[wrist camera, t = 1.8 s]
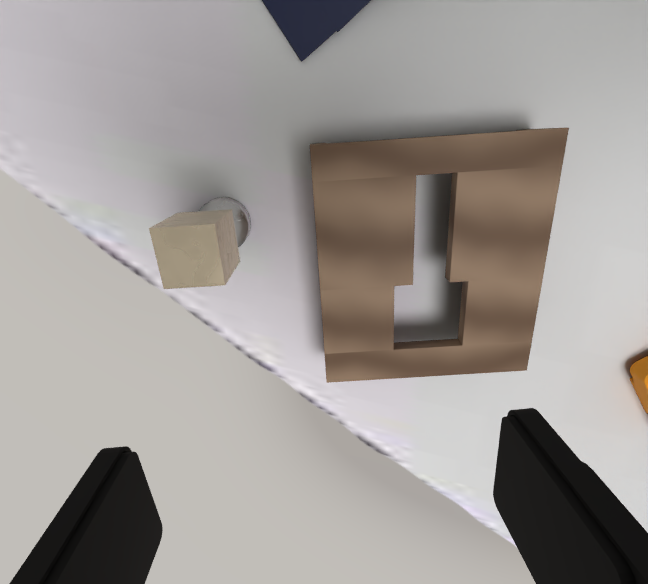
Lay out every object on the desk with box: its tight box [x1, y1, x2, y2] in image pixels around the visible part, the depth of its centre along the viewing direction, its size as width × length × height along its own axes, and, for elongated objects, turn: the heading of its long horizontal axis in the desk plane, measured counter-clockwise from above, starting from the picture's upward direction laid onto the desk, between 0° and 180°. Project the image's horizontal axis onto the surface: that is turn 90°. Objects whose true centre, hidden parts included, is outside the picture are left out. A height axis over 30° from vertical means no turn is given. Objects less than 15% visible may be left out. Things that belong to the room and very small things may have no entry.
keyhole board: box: [310, 128, 569, 382], centre depth 32 cm, size 20×18×5 cm
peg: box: [149, 197, 251, 289], centre depth 28 cm, size 4×4×10 cm
